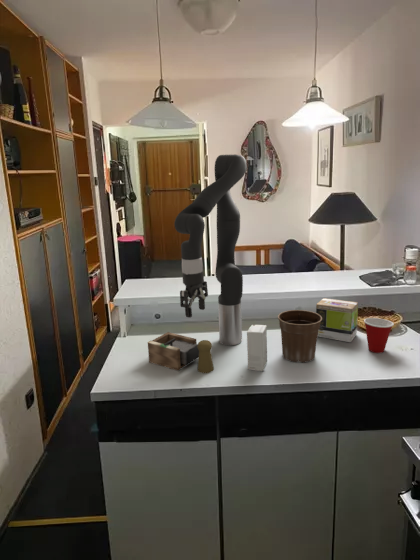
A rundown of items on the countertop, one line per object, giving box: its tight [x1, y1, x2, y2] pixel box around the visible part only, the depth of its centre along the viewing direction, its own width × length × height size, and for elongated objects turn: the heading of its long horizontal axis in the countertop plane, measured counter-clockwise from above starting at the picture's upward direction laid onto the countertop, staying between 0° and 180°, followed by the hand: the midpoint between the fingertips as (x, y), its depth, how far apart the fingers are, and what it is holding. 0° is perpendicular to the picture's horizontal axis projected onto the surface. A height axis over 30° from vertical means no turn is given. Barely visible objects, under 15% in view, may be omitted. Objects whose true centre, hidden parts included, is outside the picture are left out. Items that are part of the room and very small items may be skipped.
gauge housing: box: [147, 331, 198, 371], centre depth 163 cm, size 14×12×8 cm
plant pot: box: [277, 309, 322, 364], centre depth 162 cm, size 16×16×16 cm
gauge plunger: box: [164, 338, 199, 366], centre depth 159 cm, size 10×10×8 cm
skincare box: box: [246, 324, 268, 372], centre depth 156 cm, size 8×6×15 cm
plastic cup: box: [363, 317, 394, 354], centre depth 166 cm, size 11×11×12 cm
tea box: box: [315, 297, 359, 343], centre depth 180 cm, size 15×10×15 cm, turn 58°
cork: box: [197, 339, 215, 374], centre depth 155 cm, size 6×6×11 cm
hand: (195, 313), depth 156 cm, fingers open, 8 cm apart
